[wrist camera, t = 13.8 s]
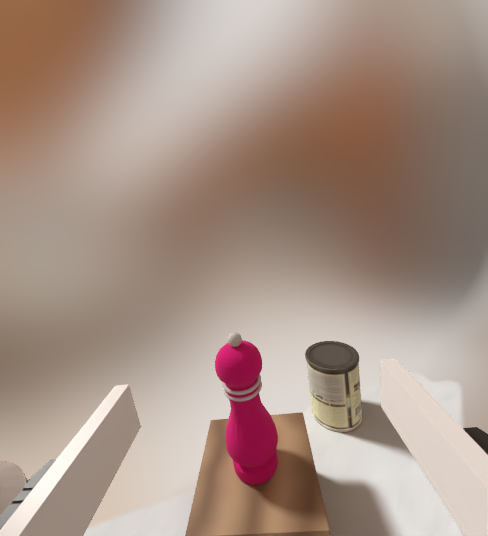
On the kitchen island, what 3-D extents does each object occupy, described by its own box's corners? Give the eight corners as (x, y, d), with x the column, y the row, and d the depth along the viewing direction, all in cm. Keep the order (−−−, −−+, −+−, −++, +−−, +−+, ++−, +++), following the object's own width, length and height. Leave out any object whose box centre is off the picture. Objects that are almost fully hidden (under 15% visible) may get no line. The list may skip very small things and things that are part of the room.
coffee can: (313, 392, 60) (307, 339, 57) (359, 397, 56) (356, 341, 53) (309, 428, 50) (302, 367, 47) (365, 437, 47) (361, 371, 44)
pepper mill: (286, 485, 31) (265, 343, 27) (230, 494, 31) (200, 353, 27) (277, 435, 38) (259, 317, 34) (231, 442, 38) (208, 325, 34)
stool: (201, 598, 30) (185, 537, 28) (220, 465, 45) (211, 420, 43) (336, 595, 28) (329, 530, 26) (308, 459, 44) (302, 412, 42)
